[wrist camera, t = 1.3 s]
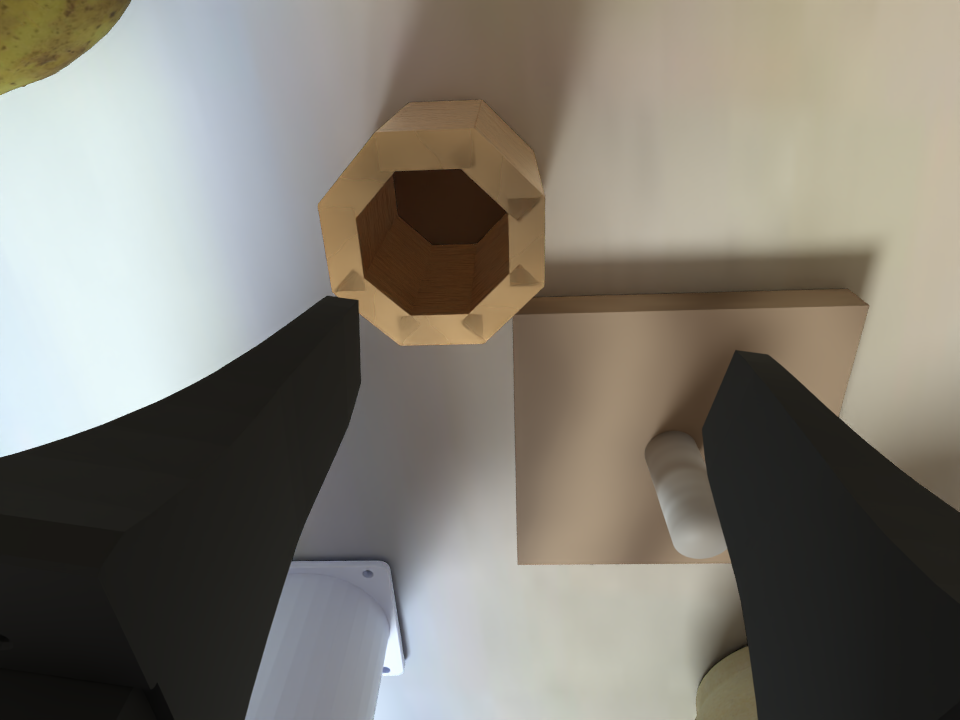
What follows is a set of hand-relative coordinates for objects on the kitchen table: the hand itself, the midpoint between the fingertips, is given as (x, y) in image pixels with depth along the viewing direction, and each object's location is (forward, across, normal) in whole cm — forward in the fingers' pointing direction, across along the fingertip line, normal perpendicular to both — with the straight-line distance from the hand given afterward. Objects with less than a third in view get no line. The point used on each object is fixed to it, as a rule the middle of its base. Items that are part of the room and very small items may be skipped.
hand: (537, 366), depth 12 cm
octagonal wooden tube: (+10, +3, +1) cm, 11 cm away
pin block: (+10, -6, +10) cm, 15 cm away
